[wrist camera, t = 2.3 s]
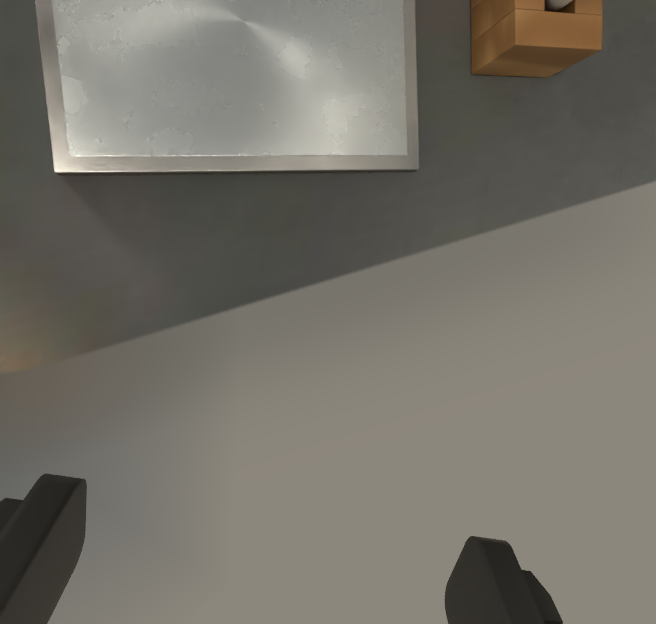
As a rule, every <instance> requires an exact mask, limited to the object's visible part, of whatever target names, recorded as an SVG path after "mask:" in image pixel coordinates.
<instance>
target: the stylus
mask: <svg viewBox="0 0 656 624" xmlns="http://www.w3.org/2000/svg"><path fill="white" fill-rule="evenodd" d="M571 1H573V0H545V10H544V11H548V12H557V11H558V10H560V9H561V8H563V7H564V6H566V5H567V4H568V3H570V2H571Z"/></svg>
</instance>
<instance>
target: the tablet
mask: <svg viewBox="0 0 656 624" xmlns="http://www.w3.org/2000/svg"><path fill="white" fill-rule="evenodd" d="M35 8H36V17H37V26H38V34H39V43H40V52H41V60H42V69H43V78H44V87H45V95H46V104H47V113H48V121H49V130H50V139H51V147H52V156H53V165H54V172H55V173H56V174H58V175H146V174H241V173H336V172H414V171H416V170H419V133H418V92H417V50H416V9H415V0H35Z"/></svg>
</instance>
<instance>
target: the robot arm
mask: <svg viewBox="0 0 656 624" xmlns="http://www.w3.org/2000/svg"><path fill="white" fill-rule="evenodd" d="M86 488H87V486H86V480H84V479H80V478H72V477H66V476H59V475H52V474H44V475H42V476H41V477H40V478H39V479H38V481H37V482H36V483H35V485H34V486H33V487H32V489H31V490H30V492H29V493H28V494H27V496H26V497H25V499H24V500H17V499H9V498H5V499H3V500H2V501H1V502H0V624H47V623H48V621H49V619H50V617H51V615H52V613H53V611H54V609H55V607H56V605H57V603H58V601H59V599H60V597H61V595H62V593H63V591H64V589H65V587H66V585H67V583H68V581H69V579H70V577H71V575H72V573H73V571H74V569H75V567H76V564H77V562H78V559H79V557H80V554H81V551H82V547H83V543H84V537H85V522H86ZM445 609H446V615H447V620H448V623H449V624H563V621H562V619H561V617H560V615H559V613H558V611H557V609H556V607H555V604H554V602H553V600H552V598H551V596H550V595H549V593H548V592H547V591H546V589H545V588H544V587H543V586H542V585H541V583H540V582H539V581H538V580H537V579H536V577H535V576H534V575H533V574H532V573H531V571H525V570H521V568H520V566H519V564H518V561H517V558H516V556H515V554H514V551H513V549H512V547H511V546H510V544H509V543H508V542H506V541H503V540H496V539H489V538H481V537H475V536H471V537H469V538H468V540H467V541H466V543H465V545H464V548H463V550H462V552H461V554H460V556H459V559H458V561H457V563H456V565H455V567H454V569H453V571H452V574H451V576H450V578H449V580H448V583H447V586H446V592H445Z"/></svg>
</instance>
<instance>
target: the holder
mask: <svg viewBox="0 0 656 624" xmlns="http://www.w3.org/2000/svg"><path fill="white" fill-rule="evenodd" d="M602 1H603V0H573V1H571V2H570V3H568V4H567V5H566V6H564V7H563V8H561V9H560V10H558V11H557V12H548V11H544V10H545V0H471V43H472V44H471V74H473V75H497V76H521V77H545V78H548V77H550V76H552V75H554V74H556V73H557V72H559V71H561V70H563V69H565V68H567V67H569V66H571V65H573V64H575V63H577V62H579V61H581V60H583V59H585V58H587V57H589V56H591V55H592V54H594V53H596V52H598V51H600V50H602V16H601V15H602Z"/></svg>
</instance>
